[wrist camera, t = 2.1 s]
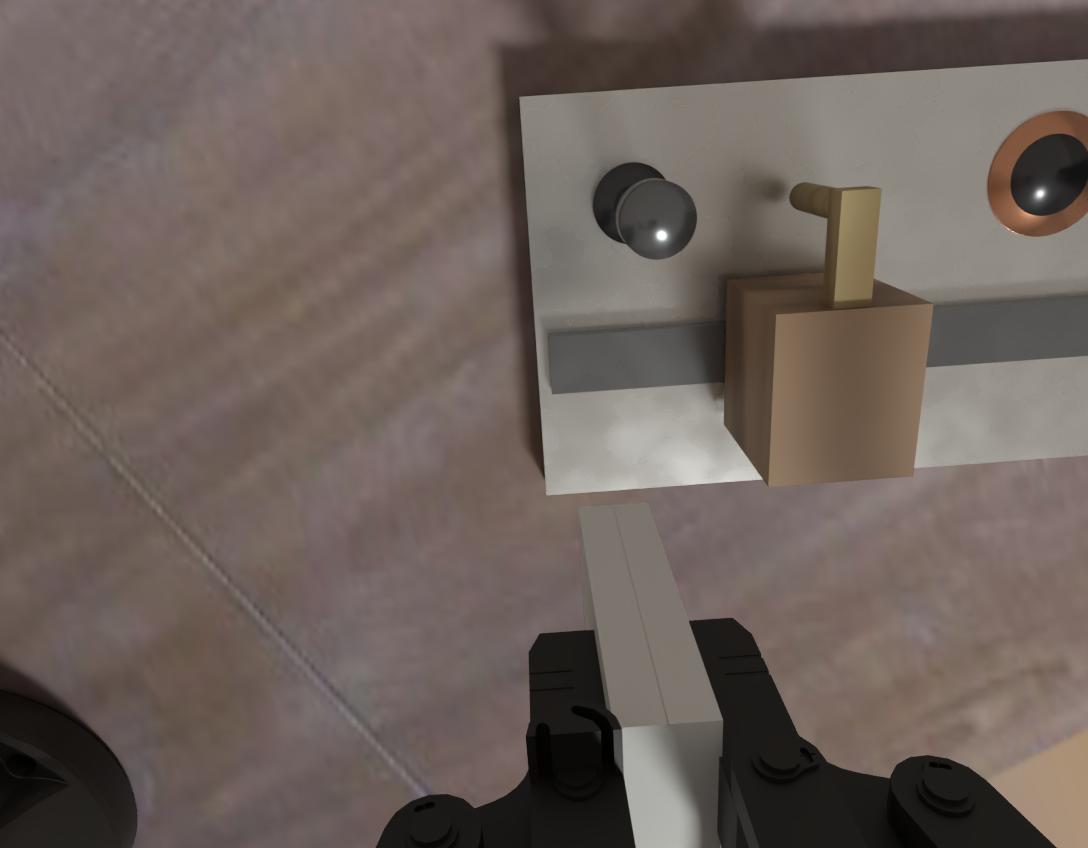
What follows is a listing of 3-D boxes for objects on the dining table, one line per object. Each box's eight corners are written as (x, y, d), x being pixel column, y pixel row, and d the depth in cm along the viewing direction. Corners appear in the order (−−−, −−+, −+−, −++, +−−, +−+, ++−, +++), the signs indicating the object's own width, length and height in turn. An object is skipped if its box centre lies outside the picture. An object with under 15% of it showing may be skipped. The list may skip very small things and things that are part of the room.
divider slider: (723, 424, 32) (768, 486, 27) (728, 182, 29) (781, 195, 23) (843, 415, 32) (912, 476, 27) (863, 173, 29) (947, 184, 23)
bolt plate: (545, 480, 35) (553, 564, 29) (518, 98, 30) (521, 90, 23) (1111, 438, 36) (1251, 511, 29) (1194, 53, 30) (1392, 32, 23)
